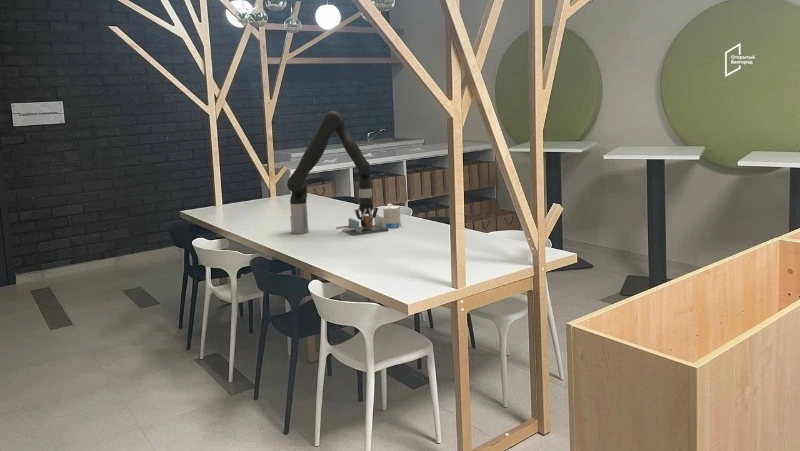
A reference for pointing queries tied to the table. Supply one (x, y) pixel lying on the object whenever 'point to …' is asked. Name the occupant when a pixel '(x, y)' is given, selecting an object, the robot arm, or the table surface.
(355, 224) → the sliding jaw
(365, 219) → the block
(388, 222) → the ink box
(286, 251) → the table surface
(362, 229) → the vise base
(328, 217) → the table surface
